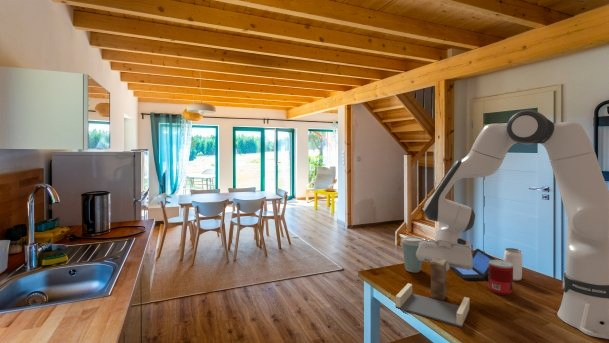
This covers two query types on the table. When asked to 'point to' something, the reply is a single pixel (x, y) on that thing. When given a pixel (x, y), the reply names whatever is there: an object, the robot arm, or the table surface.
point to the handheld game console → (476, 267)
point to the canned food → (500, 277)
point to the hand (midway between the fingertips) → (440, 274)
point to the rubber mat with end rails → (432, 307)
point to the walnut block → (438, 278)
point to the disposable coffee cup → (411, 253)
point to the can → (514, 261)
